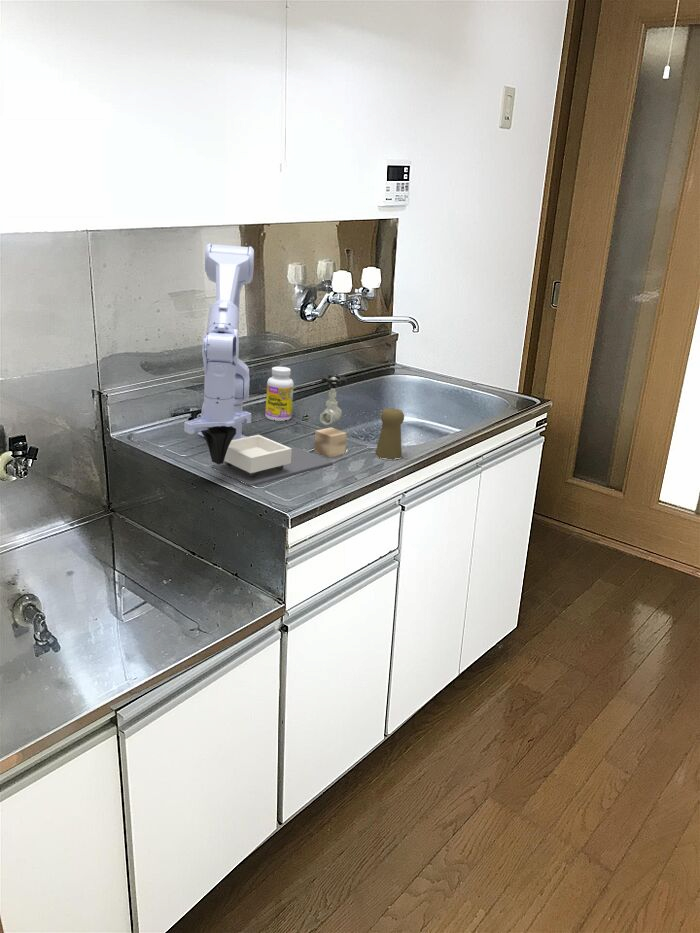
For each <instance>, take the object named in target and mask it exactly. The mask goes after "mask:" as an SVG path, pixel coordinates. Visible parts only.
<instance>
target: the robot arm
mask: <svg viewBox="0 0 700 933" xmlns="http://www.w3.org/2000/svg"><path fill="white" fill-rule="evenodd" d="M254 262H255V250H254V248H253V247H252V246H240V245H225V244H216V243H215V244H214V243H213V244H212V243H211V242H210V243H208V244H207V245H206V246H205V249H204V272H205V273H206V276H207V278H208V281H211V282H213V283H215V290H216V291H215V292H216V294H215V296H216V298H215V299H216V300H215V302H213V303H212V304H210V306H209V309H208V318H207V328H206V334H203V337H202V347H201V348H202V350H201V353H202V354H201V356H202V362H203V372H204V384H203V385H204V387H203V388H204V389H203V391H204V394H203V403H202V405H201V413H200V414H201V416H199V417H196V418H194V419H191V420H187V421H184V422H183V426H184V428H183V430H184V432H185V433H186V434H189V435H194V434H195V433H196V432H197V435H198V436H200V437H203V438H204V439H205V441H206V444H207V447H208V449H209V454H210V459H211V462H212V463H214V464H216V465H220V464H224V463H225V461H224V459H225V455H226V452H227V449H228V447H229V444H230V442H231V441H232V440H235V439H240V438H245V437H248V436H247V435H244V434H242V429H243V426H242V425H243V423H245V424H251V423H252V413H251V412H249V411H246V410H243V406H244V405H243V404H244V402H247V401H248V399H249V398H250V397H249V396H250V368H249V366H248V364H246V363H245V362H243V361H242V359H240V358H239V351H240V337H239V329H240V328H239V326H240V325H239V324H240V302H241V301H240V298H241V297H240V296H241V291H242V289H243V287H244V286H245V285H248V284H251V283H252V281H253V277H254V267H255V266H254V264H255V263H254Z"/></svg>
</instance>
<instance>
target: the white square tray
mask: <svg viewBox="0 0 700 933" xmlns="http://www.w3.org/2000/svg"><path fill="white" fill-rule="evenodd" d="M291 453H292V447H289V446H287V445H284V444H282V443H281V442H280V443H279V442H277V441H275V440H272V439H271V438H270V439H269V438H268V437H265V436H263V435H261V434H254V435H251V436H247V437H245V438H240V439H235V440H232V441H231V442H230V444H229V447H228V449H227V452H226V455H225V459H224V463H225V464H226V465H228V466H232V465H234V466H236V467H238V468H241V469H243V470H245V471H247V472H249V473H248V474H249V476H251V477H255V476H256V475H257V472H258V471H262V470H266V469H270V468H274V467H275V468H276V469H277V470H279V471H281V470H282V469H283V465H286V464H290V463H291Z"/></svg>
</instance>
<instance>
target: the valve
mask: <svg viewBox="0 0 700 933" xmlns="http://www.w3.org/2000/svg"><path fill="white" fill-rule="evenodd" d="M320 378H321V382H322V383H325V382H326V383H327V384H328V385H329V386H328V388H330V390H329V391H328V397H329V398H328V400H326V401H325V406H326V408H325V409H324V410H323V412H321V413H320V414H319V422H320V423H321V424H322V425H324V426H325V427H326V426H330V425H333V424H335V423H337V422H338V421H339V419H341V418H342V413H343V412H342V411H343V410H342V409H341V408H340V407H339V404H338V403H339V402H338V401H337V399H336V397H337V391H336V389H337V388H338V387H341V386H342V385H343V384H347V376H341V375H340V374H335V375H332V374H331V373H329V374H328V373H327V374H326V375H325V374H321V377H320Z"/></svg>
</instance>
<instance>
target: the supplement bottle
mask: <svg viewBox="0 0 700 933" xmlns="http://www.w3.org/2000/svg"><path fill="white" fill-rule="evenodd" d="M291 370H292V369H291V368H289V367H287V366H274V367H271V375H272V376H271V377H269V378H268V379H267V382H266V397H265V398H266V400H265V418H266V419H268V420H269V421H274V420H275V421H276V422H285V420H287V421H289V420H290V419H291V418H292V414H293V413H292V412H293V400H294V399H293V398H294V380H293V379H292V378H290V376H291V372H292V371H291Z"/></svg>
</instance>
